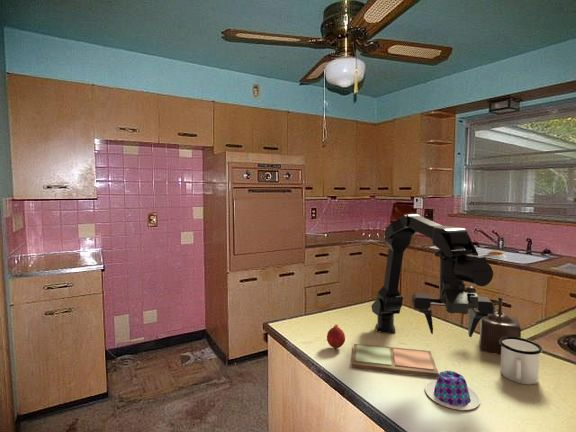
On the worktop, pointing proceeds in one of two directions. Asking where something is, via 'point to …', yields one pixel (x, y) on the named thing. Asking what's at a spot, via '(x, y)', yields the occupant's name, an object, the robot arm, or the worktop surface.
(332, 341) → the onion
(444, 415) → the worktop surface
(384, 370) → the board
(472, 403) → the pudding
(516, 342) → the mug
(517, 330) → the brown coffee grinder
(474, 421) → the worktop surface
